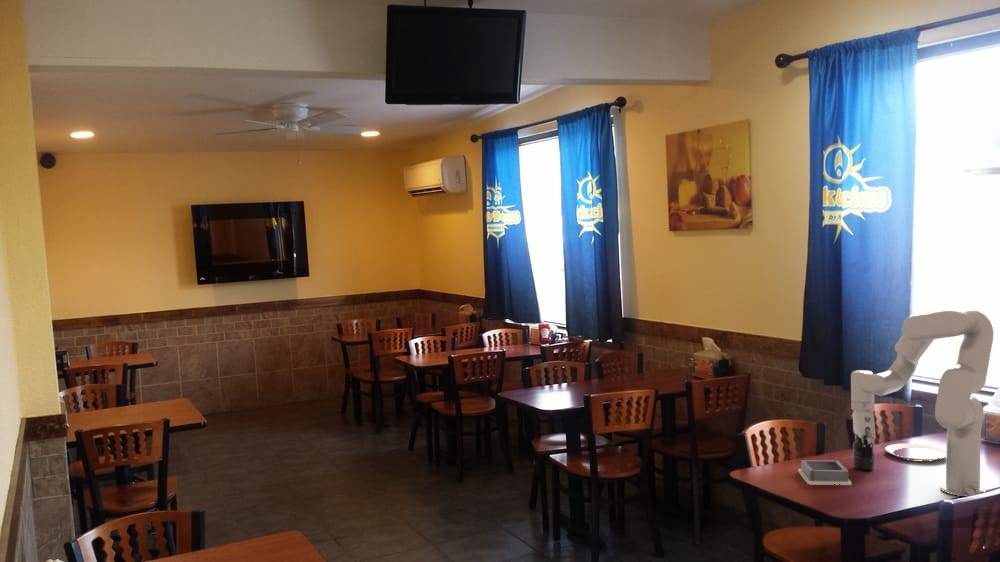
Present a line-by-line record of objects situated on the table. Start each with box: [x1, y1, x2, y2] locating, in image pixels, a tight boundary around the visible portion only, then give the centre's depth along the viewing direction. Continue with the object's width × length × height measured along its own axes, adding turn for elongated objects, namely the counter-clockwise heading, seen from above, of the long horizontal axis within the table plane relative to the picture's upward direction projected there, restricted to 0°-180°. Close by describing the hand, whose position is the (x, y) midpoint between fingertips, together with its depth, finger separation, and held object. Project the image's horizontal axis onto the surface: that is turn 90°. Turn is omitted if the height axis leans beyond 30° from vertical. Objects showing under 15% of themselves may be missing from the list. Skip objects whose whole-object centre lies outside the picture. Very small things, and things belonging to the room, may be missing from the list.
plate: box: [884, 442, 946, 461], centre depth 301 cm, size 21×21×2 cm
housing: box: [797, 459, 852, 486], centre depth 279 cm, size 14×14×4 cm
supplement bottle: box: [852, 434, 875, 471], centre depth 288 cm, size 7×7×12 cm
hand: (863, 454), depth 288 cm, fingers closed on supplement bottle, 6 cm apart
